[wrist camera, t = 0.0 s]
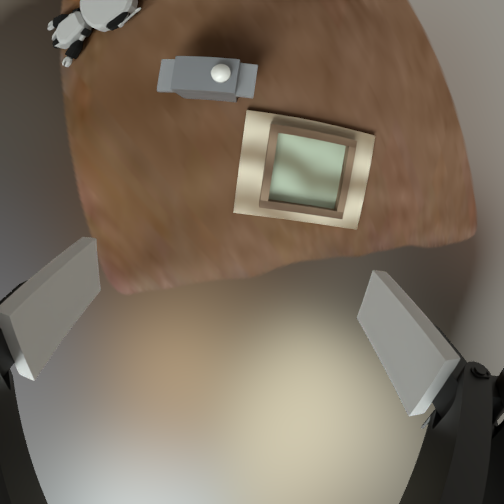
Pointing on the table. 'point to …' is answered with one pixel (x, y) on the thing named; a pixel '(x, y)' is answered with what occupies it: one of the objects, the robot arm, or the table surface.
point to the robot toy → (89, 23)
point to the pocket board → (302, 170)
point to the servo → (207, 78)
